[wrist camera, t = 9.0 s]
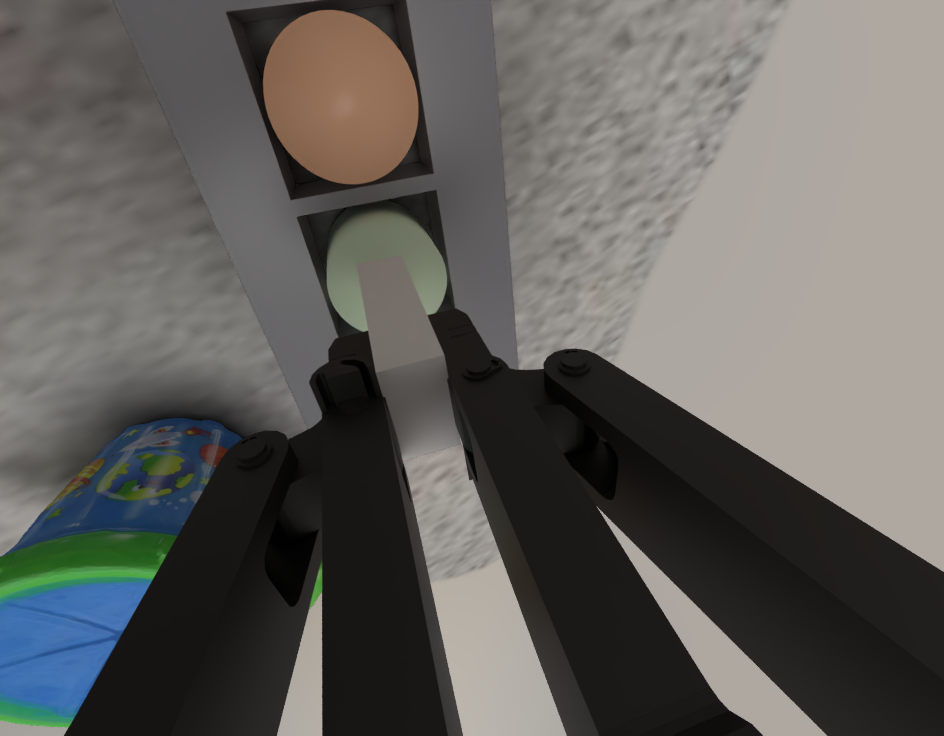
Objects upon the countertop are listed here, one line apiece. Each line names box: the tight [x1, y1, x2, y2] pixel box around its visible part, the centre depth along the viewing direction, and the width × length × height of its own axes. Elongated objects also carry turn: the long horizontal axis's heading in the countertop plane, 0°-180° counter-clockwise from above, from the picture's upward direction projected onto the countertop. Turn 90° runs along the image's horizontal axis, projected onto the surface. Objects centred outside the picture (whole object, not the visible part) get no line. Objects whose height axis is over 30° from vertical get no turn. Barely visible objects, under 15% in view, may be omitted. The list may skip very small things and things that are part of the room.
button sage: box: [327, 200, 447, 332], centre depth 19 cm, size 5×5×4 cm
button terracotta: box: [263, 10, 418, 184], centre depth 15 cm, size 5×5×4 cm
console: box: [113, 0, 518, 429], centre depth 20 cm, size 19×11×3 cm, turn 7°
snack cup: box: [0, 418, 322, 727], centre depth 20 cm, size 16×10×10 cm
